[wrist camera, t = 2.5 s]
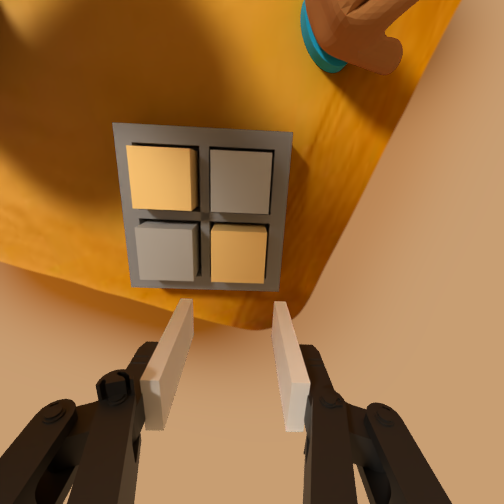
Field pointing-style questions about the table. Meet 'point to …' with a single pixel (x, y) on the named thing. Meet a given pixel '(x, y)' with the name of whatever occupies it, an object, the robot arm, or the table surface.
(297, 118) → the table surface
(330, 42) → the toy
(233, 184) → the grey button near right
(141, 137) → the button board
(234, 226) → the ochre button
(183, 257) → the grey button far left
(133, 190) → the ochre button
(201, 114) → the table surface
